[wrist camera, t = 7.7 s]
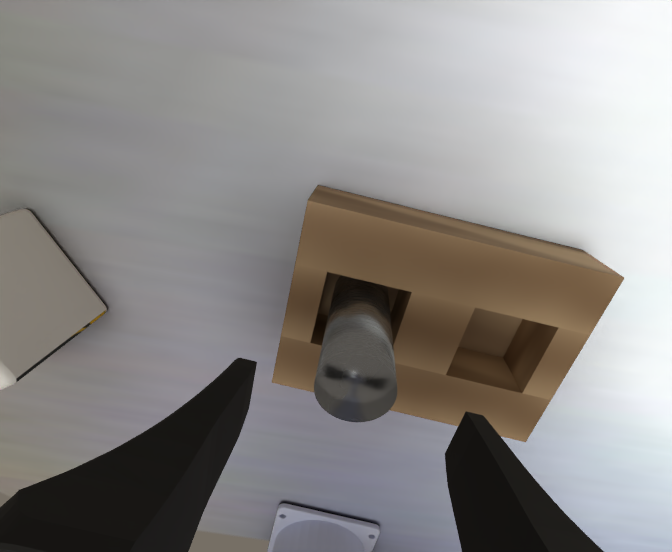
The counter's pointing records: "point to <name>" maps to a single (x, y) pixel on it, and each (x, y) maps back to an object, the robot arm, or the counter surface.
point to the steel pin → (357, 353)
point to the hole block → (447, 307)
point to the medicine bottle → (37, 297)
